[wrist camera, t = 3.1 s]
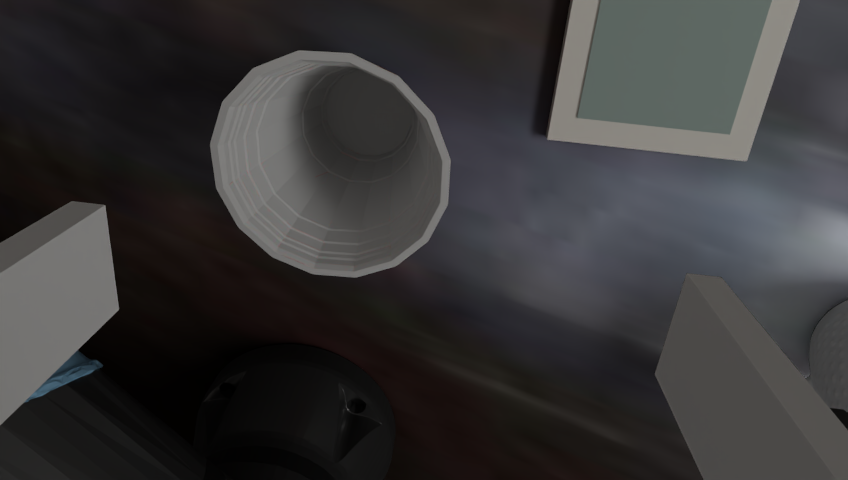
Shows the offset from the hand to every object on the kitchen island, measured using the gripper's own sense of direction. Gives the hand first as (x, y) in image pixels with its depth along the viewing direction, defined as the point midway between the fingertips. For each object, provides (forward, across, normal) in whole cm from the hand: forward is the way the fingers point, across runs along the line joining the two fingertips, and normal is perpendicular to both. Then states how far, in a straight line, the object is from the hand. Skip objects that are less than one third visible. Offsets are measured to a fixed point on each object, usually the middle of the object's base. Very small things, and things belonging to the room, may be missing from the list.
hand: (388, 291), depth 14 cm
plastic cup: (+25, -4, -2) cm, 25 cm away
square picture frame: (+25, +13, +4) cm, 28 cm away
